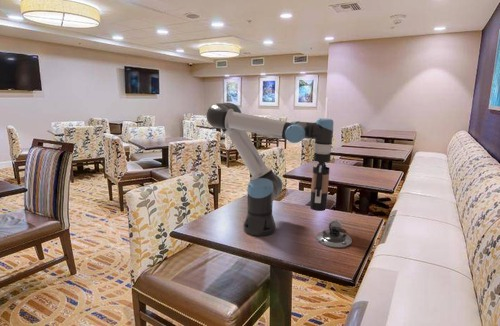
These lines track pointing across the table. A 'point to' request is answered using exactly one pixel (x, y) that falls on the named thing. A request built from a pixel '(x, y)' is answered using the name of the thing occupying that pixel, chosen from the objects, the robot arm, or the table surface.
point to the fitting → (334, 236)
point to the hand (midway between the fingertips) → (318, 199)
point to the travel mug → (325, 181)
